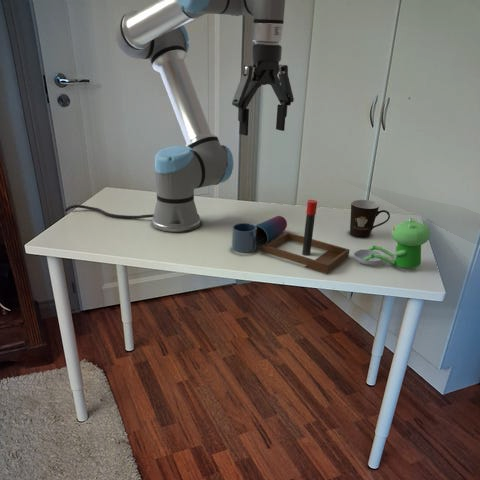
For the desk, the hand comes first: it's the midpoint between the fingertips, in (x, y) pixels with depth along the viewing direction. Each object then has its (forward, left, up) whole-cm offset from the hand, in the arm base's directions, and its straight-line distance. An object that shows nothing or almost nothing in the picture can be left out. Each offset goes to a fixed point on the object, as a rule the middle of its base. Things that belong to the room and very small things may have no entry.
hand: (262, 132), depth 131 cm
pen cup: (+3, -11, -31) cm, 33 cm away
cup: (+4, +8, -28) cm, 29 cm away
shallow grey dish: (+34, +8, -33) cm, 48 cm away
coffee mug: (+26, +23, -31) cm, 46 cm away
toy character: (+40, +8, -31) cm, 51 cm away
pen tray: (+19, -3, -31) cm, 36 cm away
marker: (+19, -3, -30) cm, 36 cm away
